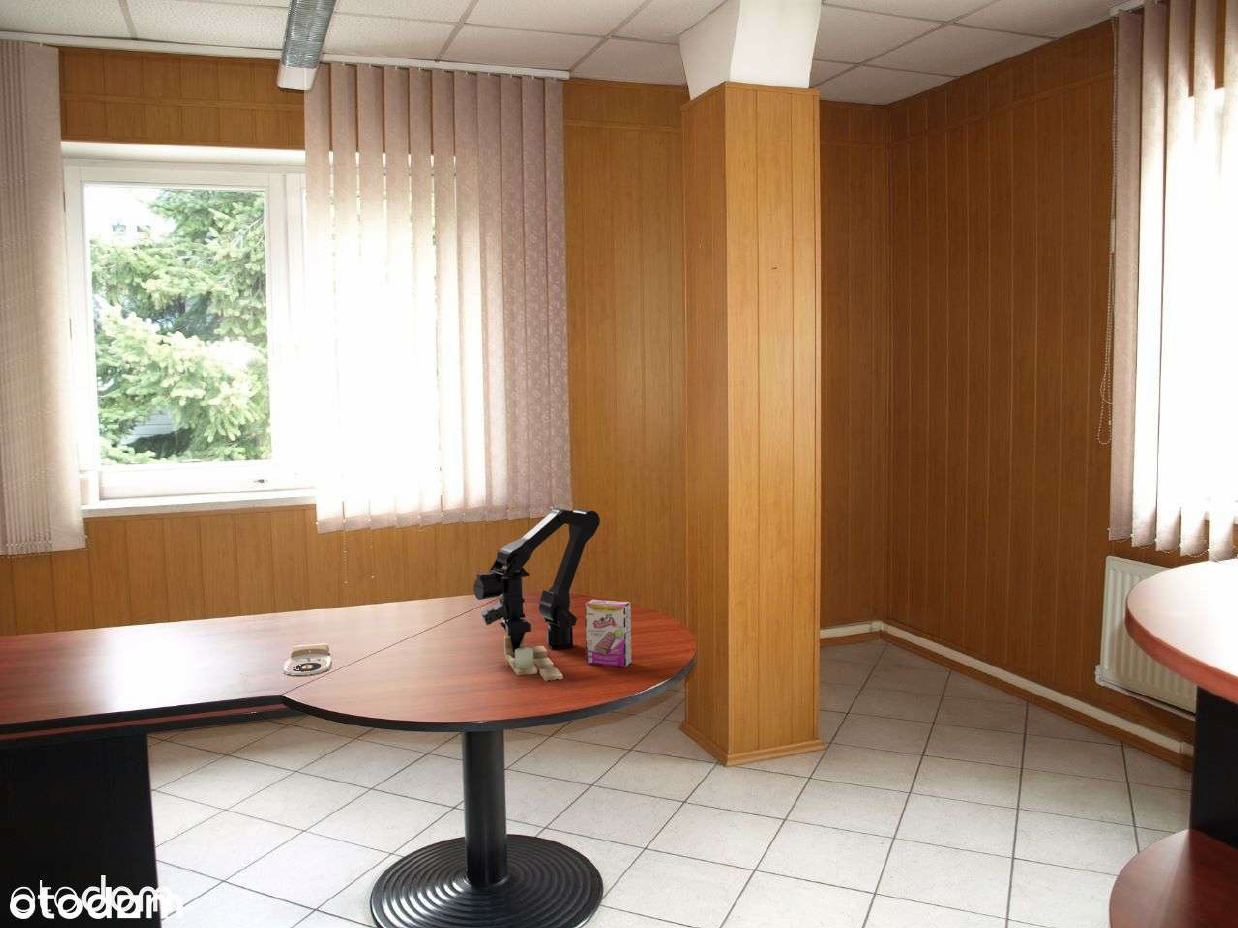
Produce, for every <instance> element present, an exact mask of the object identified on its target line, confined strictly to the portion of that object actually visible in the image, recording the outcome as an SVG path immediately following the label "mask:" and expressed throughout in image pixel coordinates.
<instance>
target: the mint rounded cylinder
mask: <svg viewBox="0 0 1238 928" xmlns="http://www.w3.org/2000/svg"><path fill="white" fill-rule="evenodd" d="M529 647H530V646H528V647H525V646H524V647H522V648H517V649H515V657H514V658H515V664H516V668H517V669H521V670H526V669H531V668H533V667H534V665H533V649H532V648H529Z"/></svg>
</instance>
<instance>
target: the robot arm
mask: <svg viewBox="0 0 1238 928" xmlns="http://www.w3.org/2000/svg"><path fill="white" fill-rule="evenodd" d="M600 522H601V518H600V516H599V514H598V513H597V512H596V511H595V510H590V509H586V508H576V509H574V510H570V509H564V508H563V509H562V508H558V507H556V508H553V509H551V511H550V512H549V514H547V515H546V516H545V517H544V518H543V519H541V520H540V522H538V523H537V524H536V525H535V526H534V527H532V528H531V529H530V530H529V531H528V532H527V533H526V534H525V535H523V536H522V537H521V538H520V539H518V540H514V541H512V542H510V543H508V544H506V545H505V546H503V547H501V548H500V549H499V550H498V552H497V557H496V559H495V561H494V562H493V564H492V566H491V567H490V569H489V572H487V573H477V574H476V578H475V580H474V582H473V586H472V590H473V594H474V597H475V598H476V599H477V600H478V601H482V600H489V599H494V598H499V597H500V598H499V602H498V603H496V604H493V605H491V606H489V607H487V608H484V609H482V610H481V611H480V615H481V617H482V619H483V622H484V623H485V625H486V626H489V625H492V624H493V623H495V622H496V621H500V620H501V619H502V622H499V625H500V626H501V627H502V628H503V630H504V631H505V633H506V635H510V640H511V644H512V649H513V652H514V653H515V649H517V648H519V647H520V644H521V642H522V640H523V637H524V638H525V635H526V633H530V632H532V624H531V622H529V620H527V619H526V613H525V612H524V603H525V602H526V600H525V598H524V586H523V583H524V581H523V578H525V577H529V576H530V573H529V572H528V571H527V570H526V569H525V568H524V566H526V564H527V563H528V562H529V560H530V559H531V556H532V554H533V552H535V550H536V549H537V548H538V547H540V546H541V545H542V544H543V543H544V542H545V541H546V540H547V539H548V538H550V537H551V536H552V535H553V534H554V533H555V532H556V531H558V530H559V529H560V528H562V526H563V525H568V533H569V538H568V541H567V545H566V547H565V550H564V553H563V555H562V559H561V562H560V564H559V567H558V570H557V572H556V575H555V579H554V581H553V584H552V586H551V587H550V589H548V590H546V589H543V591H542V592H541V596H540V599H539V601H538V602H537V604H538V605H539V606H538V611H539V614H540V615H541V617H543V619H544V622H545V623H548V624H547V627H548V628H546V629H545V630H546V631H545V632H546V644H547V645H548V646H549V648H551V650H560V649H569V648H575V644H574V635H573V634H574V633H573V632H574V631H573V630H574V629H573V627H574V626H576V624H577V621H578V618H577V617H576V615H574V614H573V613H572V612H571V611H570V607H571V594H570V591H571V587H572V585H573V583H574V580H575V576H576V573H577V570H578V568H579V565H580V562H581V559H582V556H583V553H584V550H585V548H586V545H587V543H588V542H589V541H590V539H592V538H593V536H595V534H596V532H597V529H598V528H599V526H600V524H601V523H600ZM503 568H504V569H503Z"/></svg>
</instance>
